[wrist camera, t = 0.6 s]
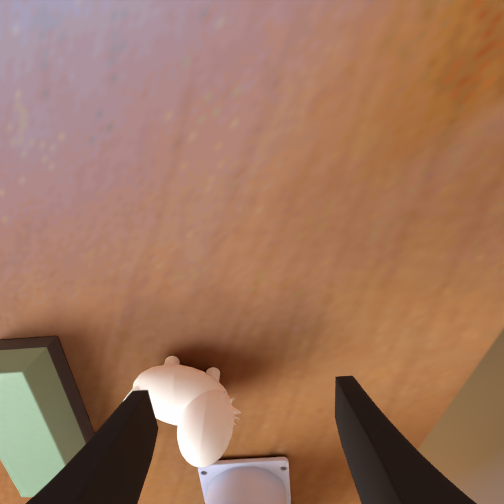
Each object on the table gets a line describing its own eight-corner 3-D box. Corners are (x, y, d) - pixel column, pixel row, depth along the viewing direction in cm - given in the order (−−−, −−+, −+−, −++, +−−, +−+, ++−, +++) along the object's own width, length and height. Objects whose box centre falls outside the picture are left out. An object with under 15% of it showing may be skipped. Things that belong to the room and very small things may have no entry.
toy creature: (232, 408, 25) (226, 494, 19) (135, 383, 24) (97, 465, 18) (251, 367, 23) (251, 446, 17) (148, 337, 22) (111, 411, 16)
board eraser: (100, 448, 26) (79, 494, 23) (50, 451, 27) (21, 498, 23) (57, 335, 22) (22, 372, 19) (-3, 339, 22) (-48, 376, 19)
